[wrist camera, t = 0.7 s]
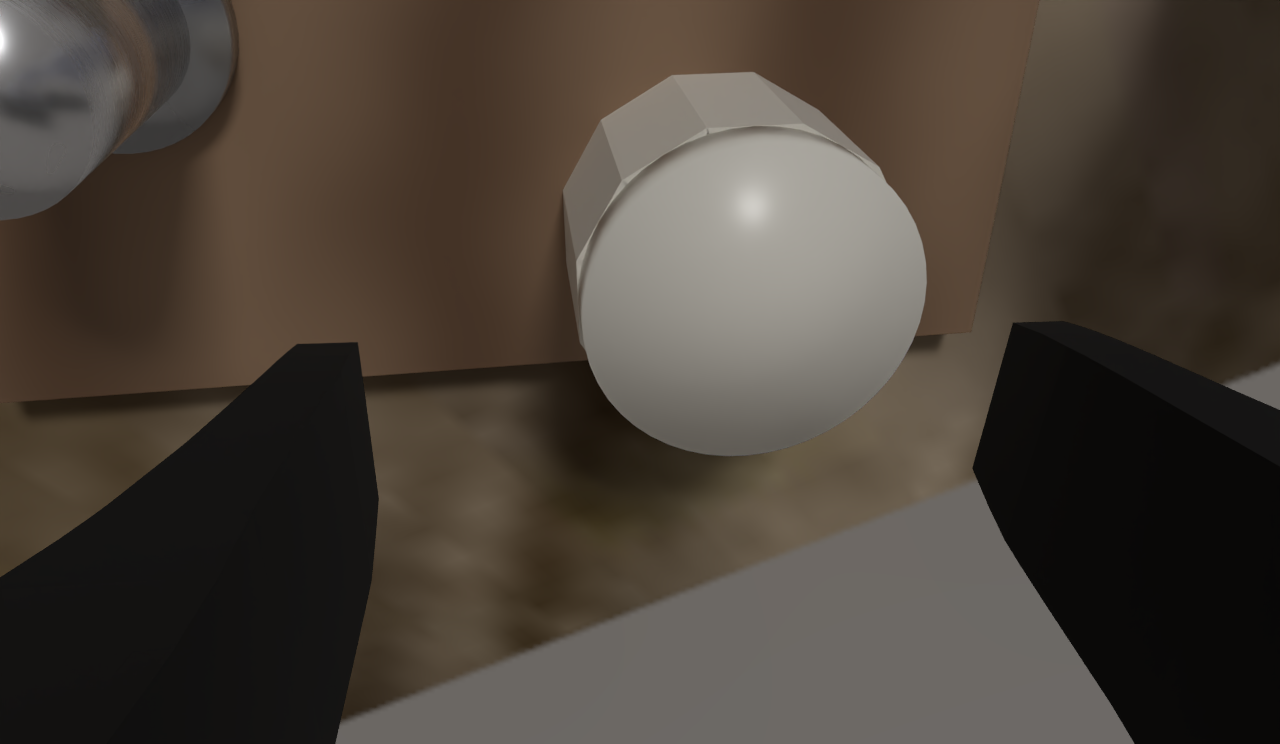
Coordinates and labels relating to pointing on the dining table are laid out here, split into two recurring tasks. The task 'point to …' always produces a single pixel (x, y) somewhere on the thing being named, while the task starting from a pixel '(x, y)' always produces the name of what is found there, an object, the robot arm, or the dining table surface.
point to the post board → (415, 166)
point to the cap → (737, 266)
